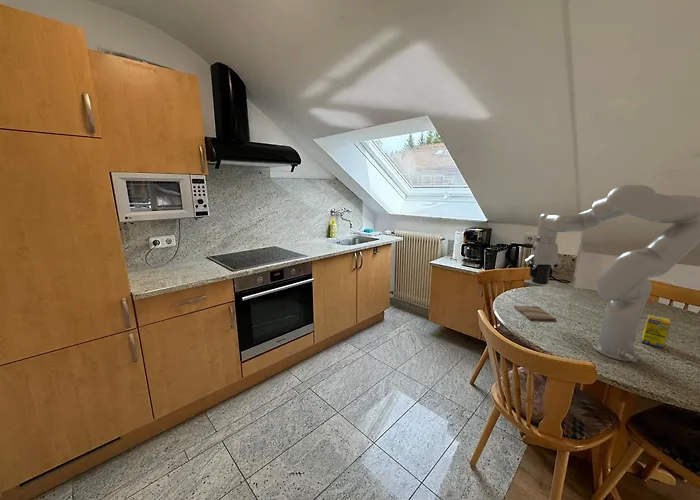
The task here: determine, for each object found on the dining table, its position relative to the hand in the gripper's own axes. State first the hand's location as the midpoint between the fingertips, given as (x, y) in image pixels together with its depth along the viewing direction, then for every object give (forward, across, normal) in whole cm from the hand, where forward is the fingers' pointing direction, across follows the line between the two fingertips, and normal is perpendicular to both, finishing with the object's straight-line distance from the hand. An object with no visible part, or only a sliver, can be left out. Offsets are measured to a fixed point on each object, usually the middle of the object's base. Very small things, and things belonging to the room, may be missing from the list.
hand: (540, 276), depth 134 cm
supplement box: (+20, +32, -25) cm, 45 cm away
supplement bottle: (+3, 0, 0) cm, 3 cm away
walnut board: (+20, 0, 0) cm, 20 cm away
